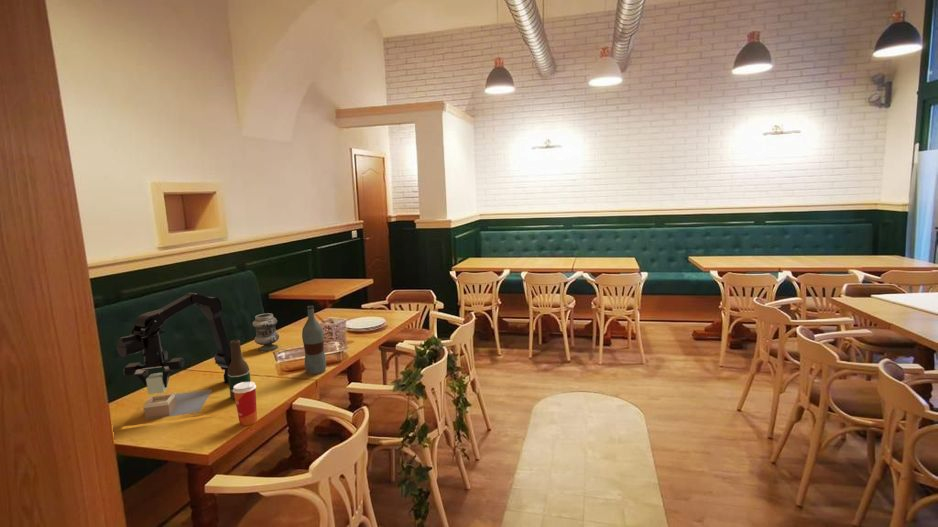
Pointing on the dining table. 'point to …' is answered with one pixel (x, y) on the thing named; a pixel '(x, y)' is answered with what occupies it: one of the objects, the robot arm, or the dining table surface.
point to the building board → (189, 402)
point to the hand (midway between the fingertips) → (158, 388)
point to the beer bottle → (237, 367)
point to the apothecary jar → (265, 332)
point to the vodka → (313, 344)
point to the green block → (155, 383)
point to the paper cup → (246, 402)
